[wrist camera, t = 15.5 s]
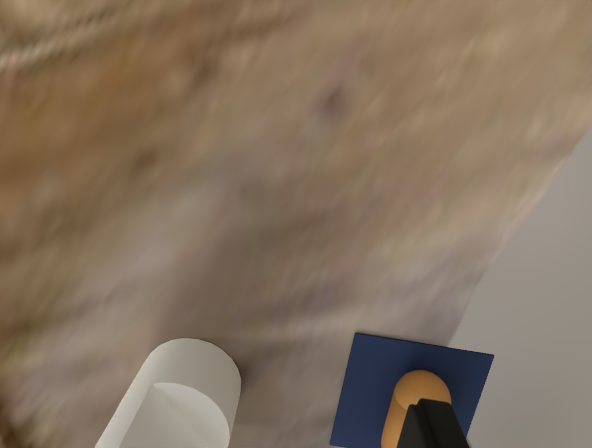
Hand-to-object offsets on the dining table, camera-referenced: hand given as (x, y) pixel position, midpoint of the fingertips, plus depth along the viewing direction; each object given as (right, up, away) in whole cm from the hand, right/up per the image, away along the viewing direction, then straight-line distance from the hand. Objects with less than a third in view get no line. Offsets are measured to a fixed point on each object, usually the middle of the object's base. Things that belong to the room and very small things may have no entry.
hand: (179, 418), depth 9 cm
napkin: (+12, -12, +31) cm, 35 cm away
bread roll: (+12, -12, +31) cm, 35 cm away
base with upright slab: (-7, -10, +31) cm, 34 cm away
